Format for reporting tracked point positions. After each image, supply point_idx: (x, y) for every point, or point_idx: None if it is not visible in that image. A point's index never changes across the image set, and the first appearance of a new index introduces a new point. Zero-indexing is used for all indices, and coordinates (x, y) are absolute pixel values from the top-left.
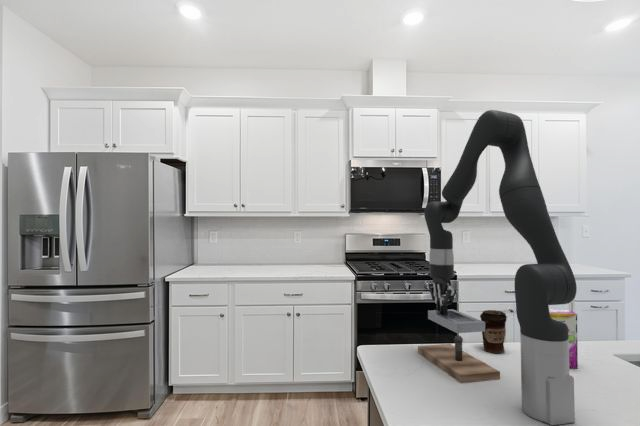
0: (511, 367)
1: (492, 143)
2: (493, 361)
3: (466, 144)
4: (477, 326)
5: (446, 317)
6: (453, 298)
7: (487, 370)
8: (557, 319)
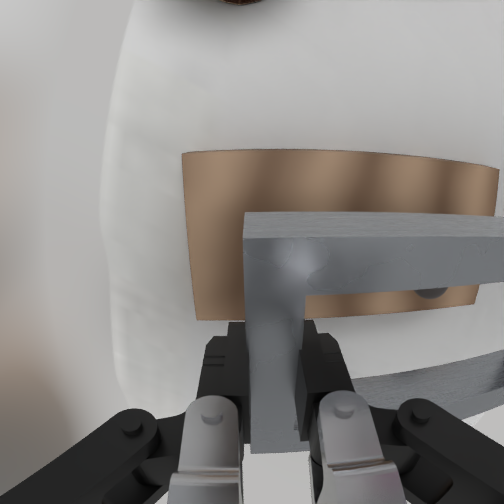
0: (423, 44)
1: None
2: (362, 55)
3: None
4: None
5: (456, 409)
6: (498, 449)
7: (485, 203)
8: None
